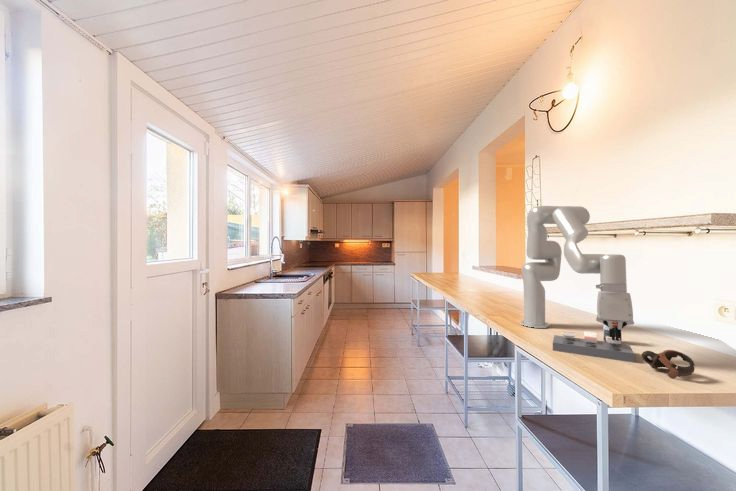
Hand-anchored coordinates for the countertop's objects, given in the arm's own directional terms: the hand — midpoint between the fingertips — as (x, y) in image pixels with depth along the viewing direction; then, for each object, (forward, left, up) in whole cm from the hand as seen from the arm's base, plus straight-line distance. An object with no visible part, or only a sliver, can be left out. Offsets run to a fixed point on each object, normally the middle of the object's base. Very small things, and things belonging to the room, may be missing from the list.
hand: (615, 339), depth 116 cm
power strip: (-1, -7, -6) cm, 9 cm away
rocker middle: (-4, -7, -2) cm, 9 cm away
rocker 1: (-3, -14, -2) cm, 15 cm away
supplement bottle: (-20, +1, -6) cm, 21 cm away
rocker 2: (-3, 0, -2) cm, 4 cm away
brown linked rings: (+11, +12, -6) cm, 17 cm away
